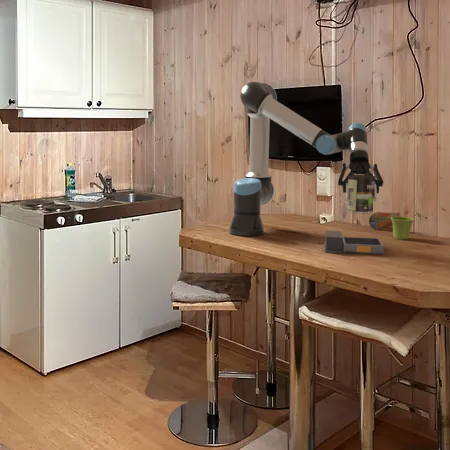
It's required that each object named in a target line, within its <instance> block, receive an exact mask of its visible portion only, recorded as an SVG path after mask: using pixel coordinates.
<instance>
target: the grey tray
mask: <svg viewBox="0 0 450 450" xmlns="http://www.w3.org/2000/svg"><path fill="white" fill-rule="evenodd" d="M324 239H325V240H324V242H323V249H324V253H330V254H331V253H332V254H351V255H373V256H374V255H376V256H384V254H385V253H384V249H385V245H384V244H383V242H382V241H381V239H380V238H379V237H378V238H377V237H374V238H373V237H358V236H357V237H354V236H343V233H342V231H339V230H325V237H324Z"/></svg>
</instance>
